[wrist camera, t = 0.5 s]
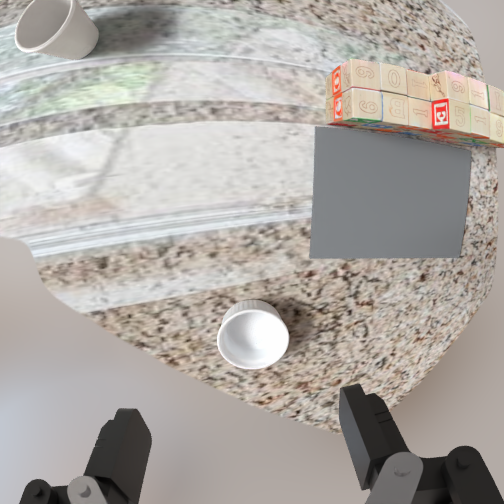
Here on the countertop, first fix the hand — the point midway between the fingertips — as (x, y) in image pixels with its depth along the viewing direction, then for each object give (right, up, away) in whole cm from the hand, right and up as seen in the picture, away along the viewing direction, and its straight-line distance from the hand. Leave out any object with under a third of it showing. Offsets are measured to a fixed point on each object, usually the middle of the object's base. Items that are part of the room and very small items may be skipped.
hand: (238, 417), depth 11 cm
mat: (+20, +13, +26) cm, 35 cm away
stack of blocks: (+20, +24, +23) cm, 39 cm away
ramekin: (+1, -3, +31) cm, 31 cm away
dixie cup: (-22, +34, +18) cm, 44 cm away
